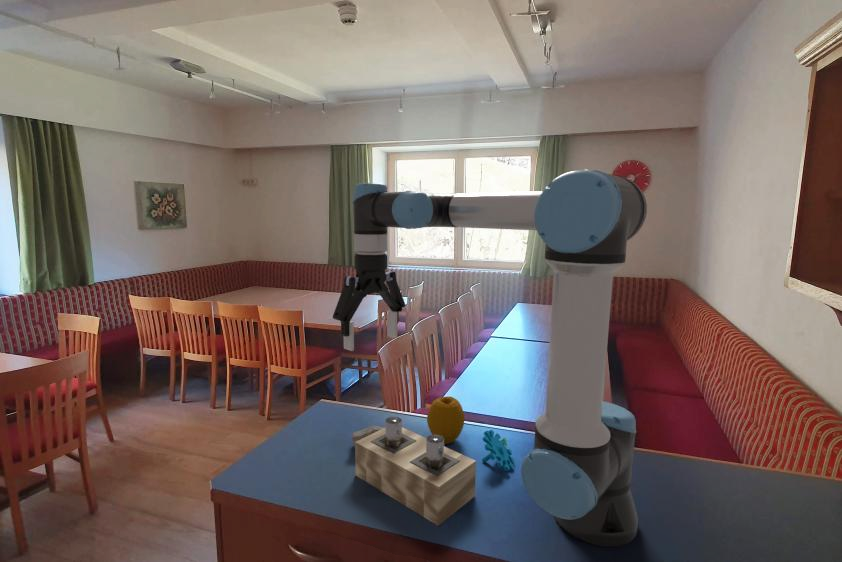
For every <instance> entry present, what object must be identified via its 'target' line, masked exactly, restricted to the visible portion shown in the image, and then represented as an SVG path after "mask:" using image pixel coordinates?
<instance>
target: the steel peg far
mask: <svg viewBox="0 0 842 562" xmlns="http://www.w3.org/2000/svg"><path fill="white" fill-rule="evenodd" d="M402 423H403V419H402V418H401V417H399V416H389V417H387V418H385V427H384V428H385V431H386V445H387V446H389V447H391V448H393V449H394V448H396V447H398V446H400V445H401V444H402V427H403V424H402Z"/></svg>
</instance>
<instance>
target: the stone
mask: <svg viewBox="0 0 842 562" xmlns="http://www.w3.org/2000/svg"><path fill="white" fill-rule="evenodd" d="M383 428H384V427H382V426H379V425H371V426H370V427H366V428H364V429H361V430H357V431H354V432H352V435H351V436H350V438H351V443H352V445H353V447H355V442H356V441H359V440H361V439H363V438H365V437H367V436H369V435H371V434H373V433H375V432H377V431H379V430H381V429H383Z"/></svg>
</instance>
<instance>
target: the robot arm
mask: <svg viewBox="0 0 842 562" xmlns="http://www.w3.org/2000/svg"><path fill="white" fill-rule="evenodd" d="M352 205H353V233H354V234H353V239H354V240H353V243H354V245H353V247H354V248H353V250H354V252H356V253H355V254H354V255H353V256H354V257H353V258H354V260H353V261H354V263H353V264H354V265H353V268H354V270H355V272H356V273H355V276H350V275H346V276H344V278H343V288H342V290H341V293H340V295H339V298H338V301H337V303H336V306H335V309H334V312H333V315H332V318H333V319H332V320H337V321H339V322H340V334H341V336H342V337H343V349H344V350H348V351H350V352H353V351H355V326H354V321H352V318H353V317H354V315H355V314H356V312H357V311H358V308H359V307H360V305H361V303H362V302H363V300H364V298H366V297H367V295H372V294H379V295H380V297H381V298H382V299H383V302H384V303H385V304H386V306H387V307H388V308H389V309H390V310H387V311H386V312H387V314H386V315H387V316H386V317H387V319H386V320H387V321H386V323H387V329H386V330H387V335H386V336H387V337H388V338H392V339H397V338H398V324H399V320H400V319H399V317H400V315H399V313H401V312H403V308H405V306H406V303H405V299H404V298H403V294H402V292H401V289H400V287H399V286H400V285H398V281H397V273H396V272H395V271H393V270H392V271H391V270H388V254H387V253H386V252H387V251H388V228H396V229H398V228H399V229H407V230H411V229H412V230H414V229H423V228H468V229H469V228H470V229H489V230H492V229H493V230H495V229H497V230H521V231H536V232H537V234H538V236H540V238H541V239H542V241H543V243H544V261H545V263H547V265H548V266H549V267H550V268H551V270H552V271H553V283H552V285H553V286H552V297H551V299H552V300H551V302H552V303H551V313H550V314H551V317H550V332H549V333H550V335H549V348H548V349H549V350H548V367H547V368H548V369H547V384H546V397H545V399H546V400H545V412H544V413H543V414H541V415H539V416H538V417H537V418H536V419H535V426H534V441H533V442H534V443H533V448H532V449H531V450H530V451H528V452H527V453H526V455H525V457H524V459H523V461H522V462H521V468H520V470H521V471H520V472H521V478H522V479H521V480H522V482H523V485H524V487H525V489H526V491H527V492H528V494H529V495H530V496H531V497H532V498H533V501H534V502H535V503H536V504H537V505H538V506H539V507H540V508H541V509H543V510H544V511H546V512H547V513H548V514H550V515H552V516H554V518H555V520H556V522H557V523H558V525H559V526H560V527H561V528H562V529H563V530H564V531H565V532H567V533H568V534H570V535H571V536H573V537H574V538H576V539H578V540H580V541H582V542H585V543H588V544H590V545H594V546H599V547H609V548H610V547H612V548H613V547H622V546H624V545H627V544H630V543H631V542H632V541H633V540H634V539H635V538H636V536H637V533H638V525H639V524H638V523H639V519H638V514H637V510H636V506H635V503H634V502H635V501H634V499H633V495H632V492H631V485H632V484H631V481H632V472H633V462H634V452H635V450H634V449H635V442H636V434H637V427H636V426H637V425H636V421H637V419H636V418H635V415H634V414H633V413H632V412H631V411H629V410H627V409H626V408H625V407H622V406H620V405H618V404H614V403H612V402H608V401H604V392H605V380H606V379H605V378H606V365H607V356H608V355H607V354H608V353H607V352H608V343H609V342H608V340H609V330H610V329H609V327H610V318H611V317H610V315H611V305H612V293H613V292H612V291H613V290H612V289H613V279H614V274H615V273H616V272H617V271H618V270H620V269H621V268H622V267H623V266H624V265H625V264H626V255H627V246H628V241H629V240H630V239H633V237H635V235H637V234H638V233H639V232H640V229H642V227H643V225H644V223H645V221H646V218H647V213H648V210H647V209H648V204H647V200H646V197H645V194H644V192H643V191H642V189H641V188H640V187H639V185H637V183H635V182H634V181H632V180H631V179H629V178H627V177H624V176H620V175H617V174H611V173H606V172H604V171H601V170H597V169H583V170H581V169H580V170H578V169H577V170H572V171H568V172H565V173H562V174H560V175H559V176H557V177H556V178H553V180H552V181H550V182H549V183H548V185H546V186H545V187H544V188H543V190H541V191H540V190H537V191H536V190H534V191H502V192H501V191H500V192H499V191H498V192H472V193H471V192H466V193H463V192H461V193H429V192H428V193H427V192H422V191H418V190H405V191H393V192H389V191H388V186H387V185H386V184H385V183H376V182H367V183H365V182H361V183H357V184H355V185H354V187H353V201H352Z"/></svg>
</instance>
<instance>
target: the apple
mask: <svg viewBox="0 0 842 562" xmlns="http://www.w3.org/2000/svg"><path fill="white" fill-rule="evenodd" d="M427 411H428V412H427V416H426V417H427V418H426V423H427V426H428V429H429V431H430V435H440V436H442V437H443V438H444V445H446V444H447V445H449V444H452V443H454V442H455V441H456V440H457V439H458V438H459V437H460V435H461V433H462V431H463V429H464V425H465V419H466V418H465V413H464V409H463V406H462V403H460V401H459V400H457V398H455V397H453V396H440V397H438V398H436V399H435V400H433V401H432V403H431V404H430V406H429V408H428V410H427Z"/></svg>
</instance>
